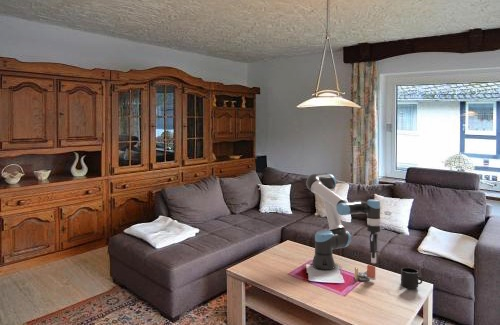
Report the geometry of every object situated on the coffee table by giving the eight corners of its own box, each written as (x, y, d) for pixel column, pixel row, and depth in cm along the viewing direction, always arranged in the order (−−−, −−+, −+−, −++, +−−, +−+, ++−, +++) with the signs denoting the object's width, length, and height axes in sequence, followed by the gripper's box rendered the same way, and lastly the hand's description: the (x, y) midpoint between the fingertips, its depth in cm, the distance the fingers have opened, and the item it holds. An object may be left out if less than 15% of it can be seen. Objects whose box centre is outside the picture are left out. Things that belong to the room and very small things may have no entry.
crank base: (349, 279, 217) (349, 266, 216) (360, 275, 224) (360, 262, 224) (362, 283, 210) (362, 270, 209) (372, 279, 217) (372, 266, 217)
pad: (353, 272, 228) (353, 271, 228) (363, 269, 235) (363, 268, 235) (368, 277, 220) (368, 276, 220) (378, 273, 227) (378, 272, 227)
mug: (418, 291, 198) (418, 275, 198) (397, 285, 207) (398, 270, 207) (425, 287, 204) (425, 271, 204) (405, 281, 213) (405, 266, 213)
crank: (357, 275, 218) (357, 263, 217) (361, 274, 220) (361, 261, 220) (373, 280, 210) (373, 267, 209) (376, 279, 212) (376, 266, 212)
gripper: (369, 222, 223) (369, 259, 223) (365, 226, 211) (365, 264, 212) (382, 223, 219) (381, 260, 219) (378, 227, 208) (378, 266, 208)
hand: (373, 262), depth 216 cm, fingers closed
